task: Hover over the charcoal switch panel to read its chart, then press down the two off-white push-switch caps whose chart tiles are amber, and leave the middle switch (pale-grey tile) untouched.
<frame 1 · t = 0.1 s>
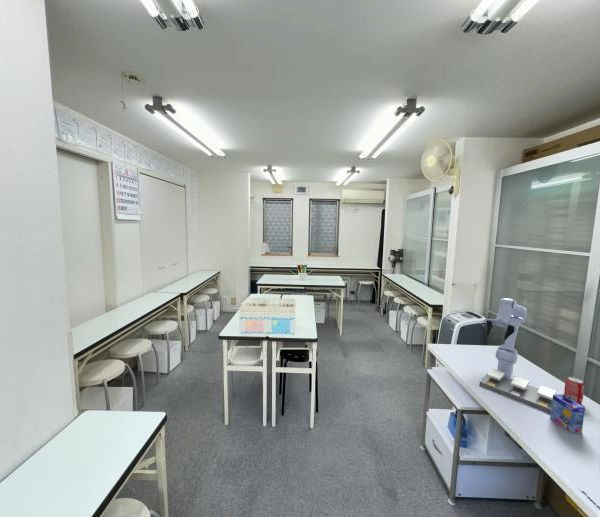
hand: (496, 336, 145), 32 cm above the table, tool tilted 50°, fingers open, 7 cm apart
switch 2: (520, 383, 150), point 5 cm above the table, slide at 0.0 cm
switch 3: (546, 392, 141), point 5 cm above the table, slide at 0.0 cm
switch 1: (496, 374, 158), point 5 cm above the table, slide at 0.0 cm
ink cartridge box: (564, 425, 125), on the table
switch panel: (518, 392, 149), on the table
soda can: (572, 401, 143), on the table
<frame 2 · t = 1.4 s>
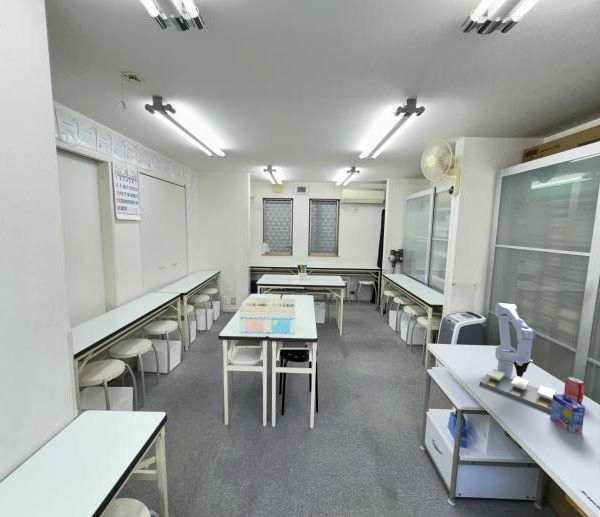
hand: (521, 373, 149), 10 cm above the table, tool pointing down, fingers open, 7 cm apart
nothing on the table moved.
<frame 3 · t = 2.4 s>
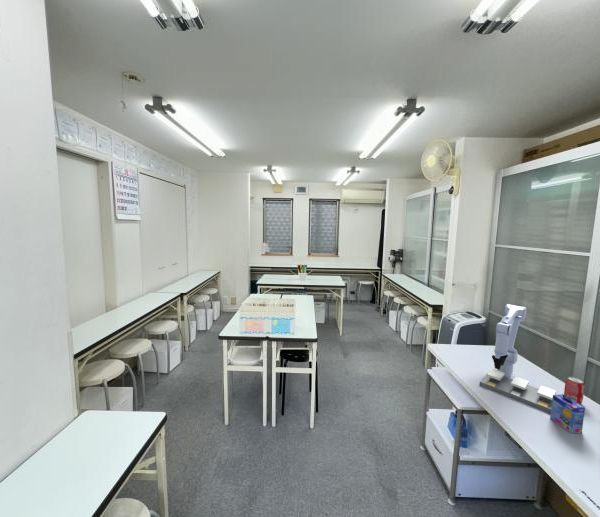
hand: (499, 366, 156), 10 cm above the table, tool pointing down, fingers open, 7 cm apart
nothing on the table moved.
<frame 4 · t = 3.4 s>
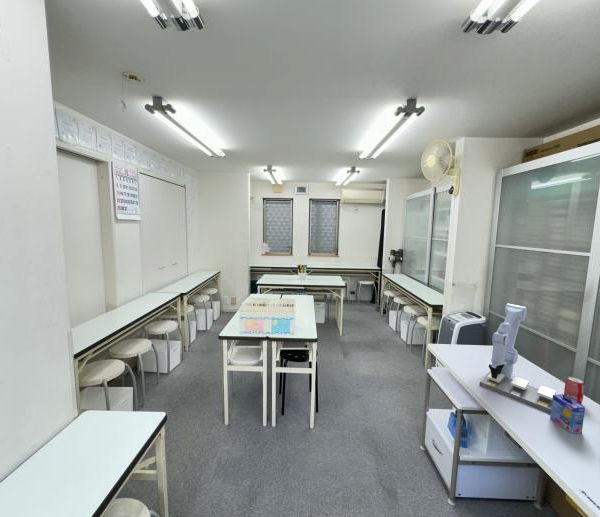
hand: (496, 375, 158), 4 cm above the table, tool pointing down
switch 1: (495, 376, 158), point 4 cm above the table, slide at 1.3 cm, touching gripper
everything else where it was.
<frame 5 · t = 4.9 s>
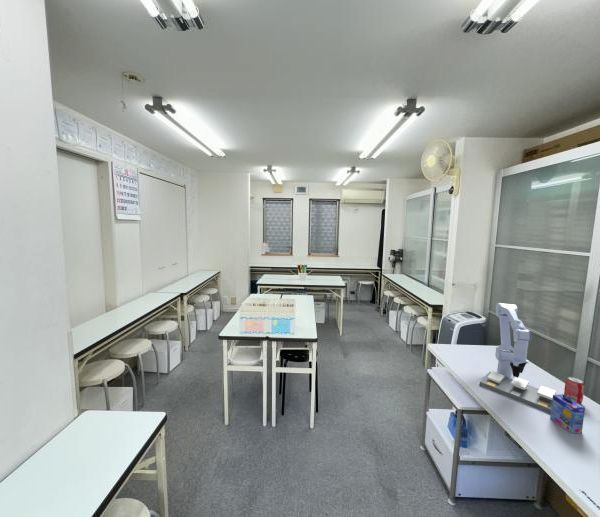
hand: (517, 374, 150), 9 cm above the table, tool pointing down, fingers open, 7 cm apart
switch 1: (495, 377, 158), point 3 cm above the table, slide at 1.7 cm
everything else where it was.
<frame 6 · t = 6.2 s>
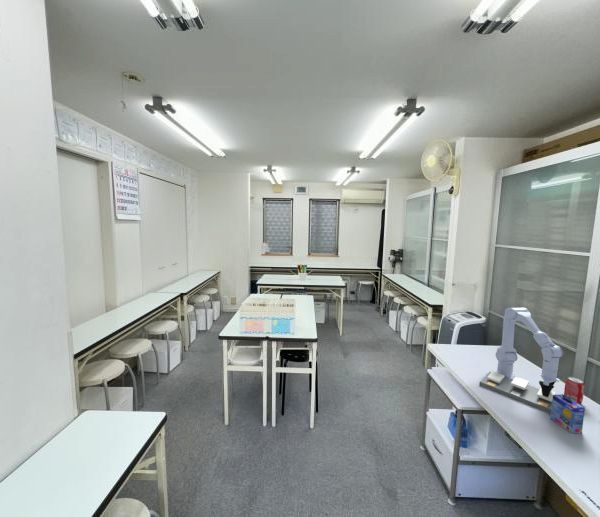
hand: (546, 393, 141), 5 cm above the table, tool pointing down
switch 3: (546, 394, 141), point 4 cm above the table, slide at 1.0 cm, touching gripper
everything else where it was.
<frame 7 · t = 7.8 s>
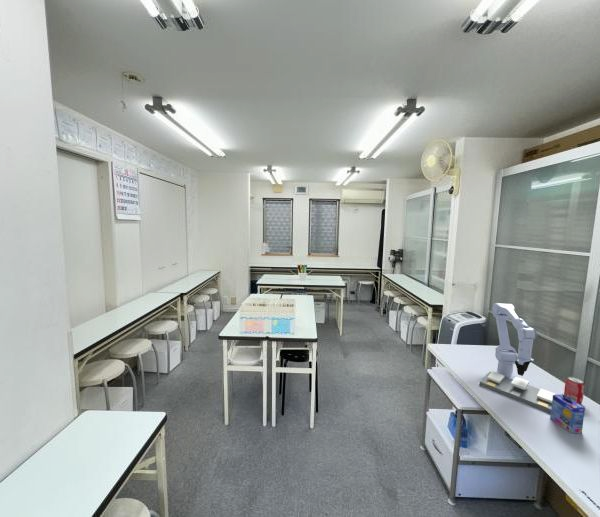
hand: (522, 372, 150), 10 cm above the table, tool pointing down, fingers open, 7 cm apart
switch 3: (546, 395, 141), point 3 cm above the table, slide at 1.7 cm
everything else where it was.
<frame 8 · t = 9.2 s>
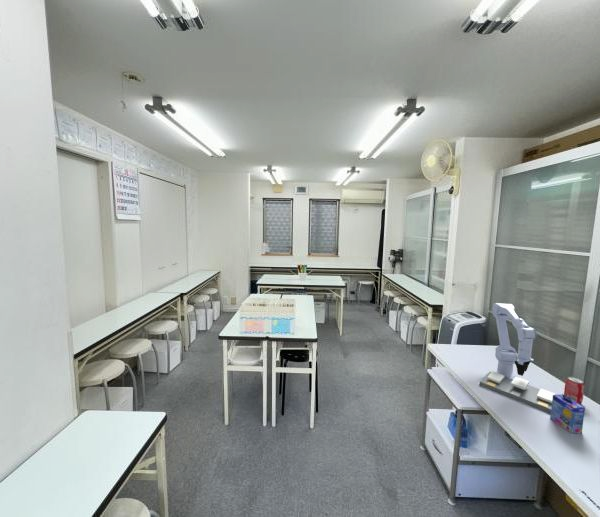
hand: (522, 372, 150), 10 cm above the table, tool pointing down, fingers open, 7 cm apart
nothing on the table moved.
at the end: switch 1 slide at 1.7 cm; switch 3 slide at 1.7 cm; switch 2 slide at 0.0 cm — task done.
